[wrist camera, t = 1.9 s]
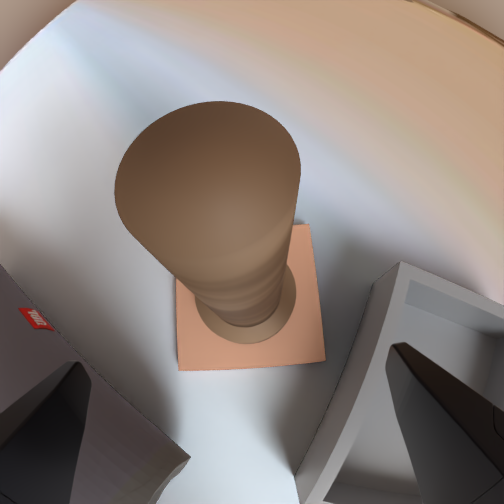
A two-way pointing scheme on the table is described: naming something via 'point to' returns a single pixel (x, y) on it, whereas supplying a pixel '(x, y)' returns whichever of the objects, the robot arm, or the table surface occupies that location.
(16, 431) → the robot arm
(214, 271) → the walnut handle
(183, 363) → the terracotta tile
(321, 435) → the box
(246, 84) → the table surface
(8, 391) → the bluetooth speaker
